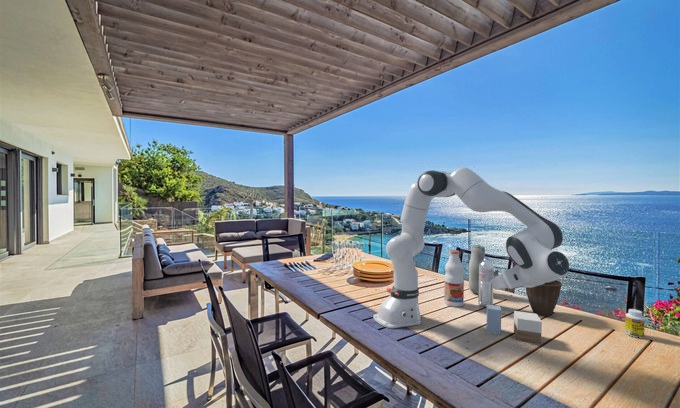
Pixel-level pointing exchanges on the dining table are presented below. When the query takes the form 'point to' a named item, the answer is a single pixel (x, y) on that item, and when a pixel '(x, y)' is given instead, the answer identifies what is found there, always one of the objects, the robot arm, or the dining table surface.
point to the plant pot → (544, 297)
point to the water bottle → (485, 283)
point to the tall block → (493, 319)
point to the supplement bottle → (634, 323)
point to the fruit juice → (454, 281)
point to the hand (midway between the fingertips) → (509, 281)
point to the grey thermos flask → (475, 267)
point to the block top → (527, 322)
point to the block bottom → (527, 336)
